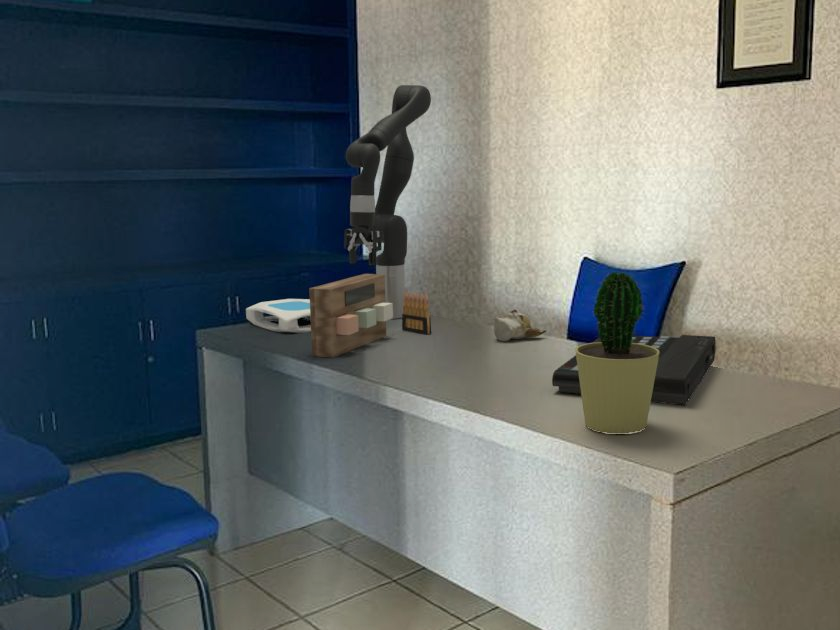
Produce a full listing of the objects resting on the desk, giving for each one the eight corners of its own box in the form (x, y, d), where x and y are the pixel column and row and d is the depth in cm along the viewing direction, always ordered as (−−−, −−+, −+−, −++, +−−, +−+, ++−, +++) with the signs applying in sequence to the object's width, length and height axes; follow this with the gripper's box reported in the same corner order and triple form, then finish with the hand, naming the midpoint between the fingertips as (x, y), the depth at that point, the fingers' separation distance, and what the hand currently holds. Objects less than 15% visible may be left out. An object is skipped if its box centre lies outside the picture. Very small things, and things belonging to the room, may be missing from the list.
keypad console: (312, 355, 228) (309, 288, 224) (366, 334, 254) (364, 273, 251) (334, 357, 225) (331, 289, 222) (387, 335, 251) (385, 274, 248)
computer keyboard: (604, 352, 226) (604, 327, 225) (715, 361, 214) (716, 335, 213) (551, 395, 187) (552, 365, 186) (684, 409, 175) (685, 377, 173)
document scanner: (286, 335, 256) (285, 315, 255) (245, 322, 278) (244, 303, 277) (347, 326, 268) (346, 306, 267) (302, 314, 290) (302, 296, 289)
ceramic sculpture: (483, 308, 242) (523, 306, 251) (482, 338, 244) (522, 335, 252) (508, 314, 234) (549, 311, 242) (506, 345, 235) (547, 341, 244)
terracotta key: (330, 333, 227) (329, 317, 226) (340, 329, 232) (340, 313, 231) (348, 335, 224) (347, 318, 224) (358, 331, 229) (358, 315, 228)
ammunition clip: (431, 334, 253) (430, 293, 251) (427, 335, 252) (426, 294, 249) (406, 329, 260) (405, 290, 258) (401, 330, 259) (400, 291, 257)
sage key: (349, 326, 236) (348, 311, 235) (359, 323, 240) (358, 307, 240) (367, 328, 233) (366, 312, 233) (376, 324, 238) (375, 308, 237)
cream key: (367, 320, 245) (366, 305, 244) (376, 317, 249) (375, 302, 249) (384, 321, 242) (383, 306, 241) (392, 318, 247) (392, 303, 246)
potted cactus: (557, 427, 163) (559, 270, 158) (603, 409, 174) (606, 262, 169) (628, 444, 153) (632, 277, 147) (672, 425, 163) (677, 267, 158)
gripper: (388, 211, 258) (387, 265, 261) (355, 209, 268) (355, 261, 270) (369, 211, 253) (369, 266, 255) (337, 210, 263) (337, 263, 265)
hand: (362, 264), depth 263 cm, fingers open, 8 cm apart
